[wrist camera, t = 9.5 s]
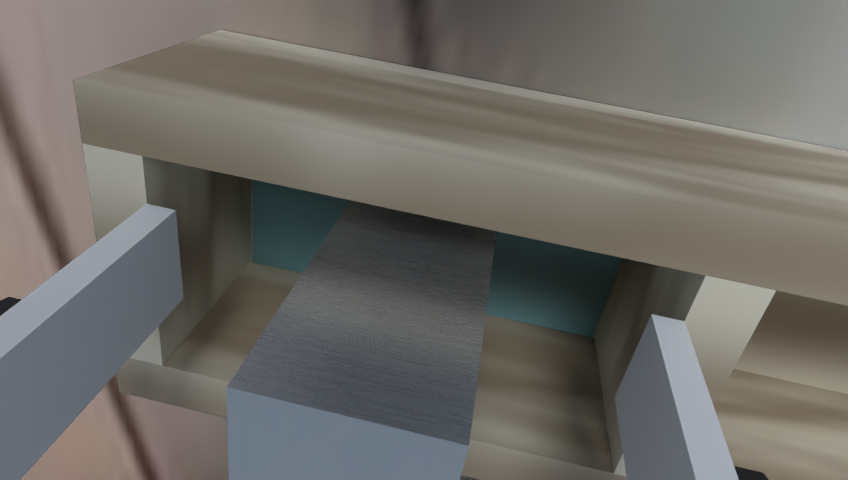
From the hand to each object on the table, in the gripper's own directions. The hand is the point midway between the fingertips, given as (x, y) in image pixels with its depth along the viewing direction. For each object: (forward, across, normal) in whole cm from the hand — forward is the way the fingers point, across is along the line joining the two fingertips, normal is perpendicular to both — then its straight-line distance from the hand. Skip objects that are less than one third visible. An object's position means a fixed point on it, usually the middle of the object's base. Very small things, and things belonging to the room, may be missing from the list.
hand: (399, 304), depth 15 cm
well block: (+7, +7, -1) cm, 10 cm away
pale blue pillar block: (+6, 0, -1) cm, 6 cm away
